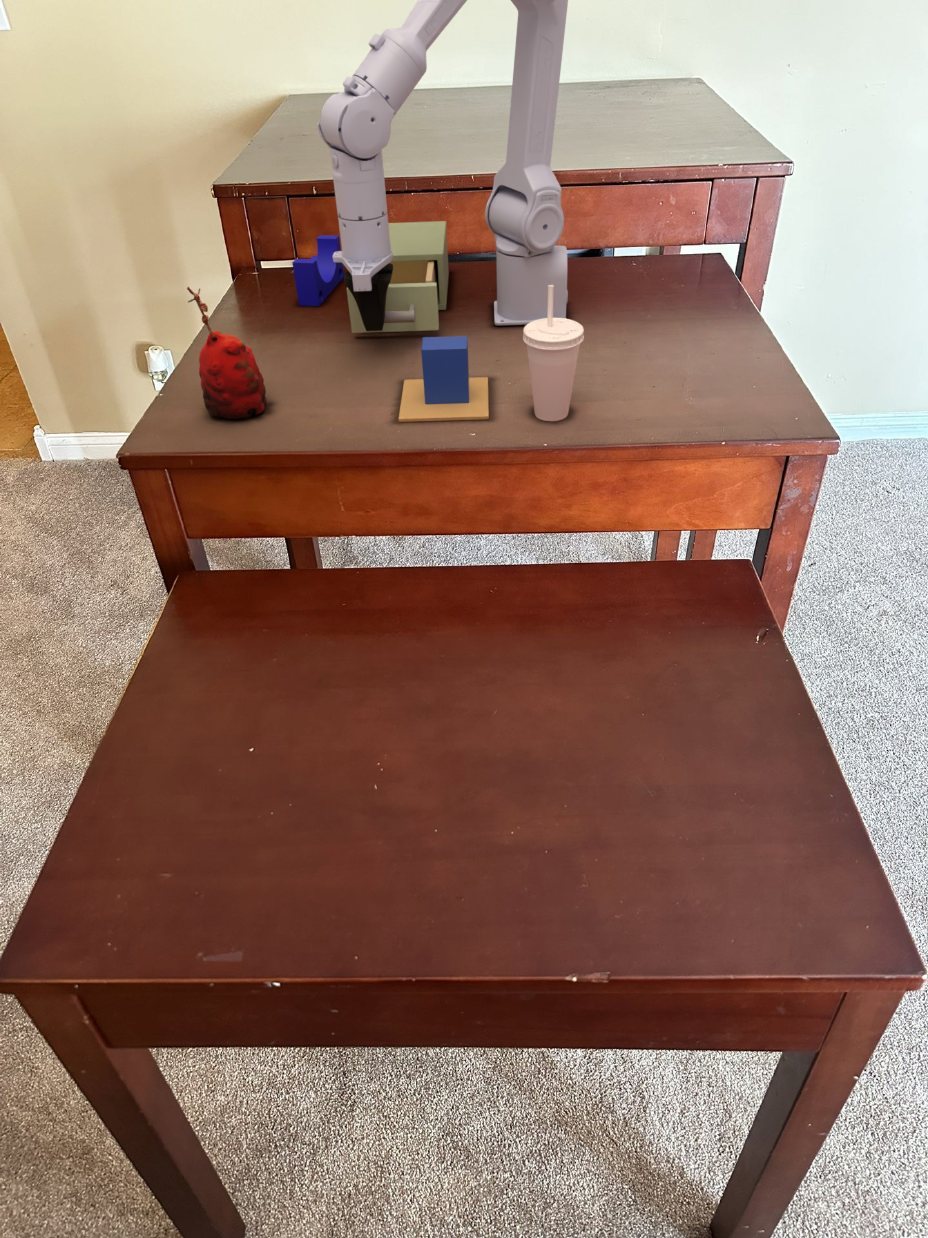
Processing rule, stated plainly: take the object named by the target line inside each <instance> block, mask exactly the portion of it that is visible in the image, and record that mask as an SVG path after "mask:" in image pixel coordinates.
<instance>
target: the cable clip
mask: <svg viewBox="0 0 928 1238" xmlns="http://www.w3.org/2000/svg"><path fill="white" fill-rule="evenodd" d="M316 246H317V248H316V249H317V255H312V256H311V257H310V258H295V259H294V260H293V261H292V262H291V263H292V269H293V276H294V282H295V288H296V293H297V302H298V306H301V307H302V306H304V307H320V306H321V305H322V304H323V302H324V301H325V300H326V299H327V298H328V297H329V296H330V294H331V293H332V292H333V291H334V290H335V288H336V287H337V286H338V285H339V284H340V282H342V280H344V275H345V272H344V264H343V263H341V262H339V263H336V262H333V254H334V252H337V251H342V246H341V238H340V235H328V234H327V235H324V234H323V235H322V234H320V235H319V236H317V238H316Z"/></svg>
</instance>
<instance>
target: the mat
mask: <svg viewBox="0 0 928 1238" xmlns="http://www.w3.org/2000/svg"><path fill="white" fill-rule="evenodd" d="M489 415H490V412H489V377H488V376H481V377H469V403H453V404H425V395H424V381H423V378H415V379H414V378H413V379H409V378H408V379H404V380H403V387H402V393H401V400H400V407H399V413H398V423H407V422H411V423H412V422H413V423H414V422H442V421H443V422H444V421H445V422H446V421H447V422H448V421H479V420H480V421H482V420H483V421H484V420H489V419H490V417H489Z"/></svg>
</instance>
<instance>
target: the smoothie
mask: <svg viewBox="0 0 928 1238" xmlns="http://www.w3.org/2000/svg"><path fill="white" fill-rule="evenodd" d="M553 289H554V286H553V285H548V316H547V318H543V319H538V320H535V321H532V322H530V323H529V324H527V325H524V327H523V330H522V331H523V332H522V333H523V335H522V340H523V342H524V343H525V344H526V352H527V360H528V361H527V362H528V369H529V377H530V385H531V393H532V402H533V410H534V411H533V412H534V416H535V417H536V418H537V419H539V420H541V421H545V422H559V421H561V420H564V419H566V418H567V417H568V415H569V411H570V404H571V399H572V393H573V387H574V381H575V375H576V369H577V364H578V358H579V353H580V345H581V343H582V342H584V339H585V335H584V332H585V328H584V326H583V325H582V324H581V323H580V322H577V321H576V320H574V319H570V318H566V319H565V318H553Z"/></svg>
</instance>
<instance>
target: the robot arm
mask: <svg viewBox="0 0 928 1238" xmlns="http://www.w3.org/2000/svg"><path fill="white" fill-rule="evenodd" d="M467 1H468V0H417V1H416V3H415V4H414V6H413V8H412V9H411V11H410V12H409V13H408V15H407V17H406V19H405V20H404V21H403V23H402V25H401V27H398V28H386V29H384V30H383V31H382V33H381V34H378V33H374V35H373V36H371V39H370V40H369V41H368V46H369V47H370V50H369V51H368V53H366V56H365V57H364V59H363V60H362V61H361V63H360V64H359V66H358V67H357V69H356V70H355V72H353V74H352V76H346V78H345V79H344V81H343V82H342V86H343V87H344V88H343V89H344V90H343V91H338V92H337V93H333V94H331V96H329V98H328V99H326V101H325V103H324V104H323V106H322V109H321V111H320V114H321V117H319V120H320V121H319V122H317V123H316V126H317V130H318V134H319V135H320V138H321V139H322V141H323V142H324V144H326V146H327V147H328V148H329V154H330V162H331V169H332V180H333V189H334V197H335V204H336V205H335V206H336V213H337V221H338V228H339V238H340V247H341V251H337V252H334V254H333V262H336V263H339V262H341V263H343V267H345V268H346V271H345V272H344V278H343V282H344V284H345V286H346V289H347V288H348V289H349V290H350V292H351V293H352V295H353V297H354V299H355V301H356V303H357V306H358V309H359V312H360V315H361V318H362V321H363V324H364V327H365V329H366V331H382V330H383V325H384V320H385V307H386V294H387V289H388V286H389V283H390V281H391V278H392V273H393V265H392V264H390V262H391V261H392V259H393V251H392V249H391V247H390V236H389V224H388V223H389V215H388V204H387V203H388V202H387V194H386V193H387V191H386V181H385V171H384V161H383V149H384V148H386V147H387V146H388V144H389V141H390V138H391V128H392V127H391V125H392V121H393V120H394V118H395V116H396V115H397V113H398V111H399V110H400V109H401V107H402V106H403V104H404V103H405V102H406V100H407V99H408V98H409V96H410V95H411V93H412V92H413V90H414V89H415V88H416V86H417V85H418V84H419V82H420V81H421V79H422V78H423V77H424V75H425V74H426V72H427V69H428V68H427V65H428V63H427V52H428V50H429V48H430V47H431V46H432V45H433V44H434V42H435V41H436V40H437V39H438V38H439V36H440V35H441V33H443V31H444V30H445V29H446V28H447V26H448V25H449V24H450V22H451V21H452V20H453V19H454V17H455V16H456V15H457V14H458V13H459V11H460V10H461V9H462V8H463V7H464V5H465V4H466V2H467ZM510 2H511V3H512V5H514V7H515V8H516V10H517V22H516V23H517V24H516V34H515V35H516V36H515V45H514V47H515V49H514V59H513V71H512V86H511V96H510V97H511V98H510V109H509V121H508V133H507V144H506V145H507V147H506V157H505V163H504V164H503V166H502V167H501V168H499V170H498V171H497V172H496V173H495V175H494V176H493V185H492V186H493V187H492V191H491V193H490V195H489V198H488V199H487V202H486V205H485V211H484V217H485V218H484V219H485V222H486V226H487V227H488V229H489V230H490V231H491V233H493V234H494V243H495V247H496V248H495V252H496V253H495V254H496V255H495V256H496V257H495V258H496V260H495V261H496V300H494V301H493V313H494V315H493V316H494V317H493V318H494V325H495V326H526V325H527V324H529V323H530V322H532V321H535V320H538V319H543V318H547V316H548V285H553V286H554V289H553V318H565V319H567V304H568V303H569V290H568V250H567V246H565V245H556V244H557V243H558V242H559V240H560V238H561V236H562V234H563V232H564V231H563V230H564V227H565V215H564V211H563V207H562V192H563V190H562V187H561V184H560V183H559V181H558V179H557V176H556V175H555V173H554V172H553V170H552V168H551V163H552V154H553V145H554V134H555V126H556V117H557V106H558V97H559V87H560V78H561V71H562V70H561V69H562V61H563V51H564V43H565V33H566V24H567V13H568V4H569V0H510Z"/></svg>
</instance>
